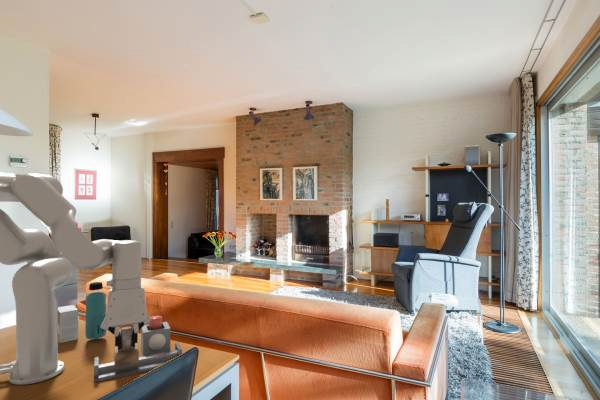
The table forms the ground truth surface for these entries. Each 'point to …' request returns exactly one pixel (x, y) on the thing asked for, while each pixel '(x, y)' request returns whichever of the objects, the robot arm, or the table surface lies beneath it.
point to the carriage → (126, 349)
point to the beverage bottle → (95, 312)
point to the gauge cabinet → (155, 339)
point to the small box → (67, 323)
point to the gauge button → (155, 322)
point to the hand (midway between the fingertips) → (126, 346)
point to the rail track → (133, 365)
